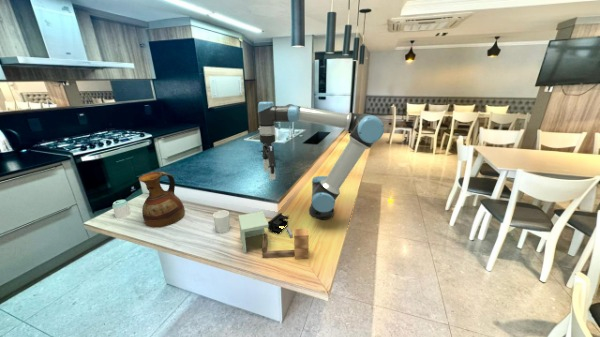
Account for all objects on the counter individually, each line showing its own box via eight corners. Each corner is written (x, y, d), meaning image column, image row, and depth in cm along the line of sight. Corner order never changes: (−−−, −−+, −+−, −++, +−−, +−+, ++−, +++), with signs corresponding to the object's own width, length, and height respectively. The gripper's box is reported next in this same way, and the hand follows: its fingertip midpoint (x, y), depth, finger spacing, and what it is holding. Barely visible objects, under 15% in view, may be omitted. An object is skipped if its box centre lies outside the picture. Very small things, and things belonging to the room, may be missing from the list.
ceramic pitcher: (138, 226, 127) (124, 175, 117) (172, 210, 143) (162, 164, 134) (159, 235, 118) (147, 181, 108) (193, 217, 135) (184, 169, 125)
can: (117, 225, 127) (111, 205, 124) (116, 220, 133) (111, 201, 129) (132, 220, 132) (127, 202, 128) (131, 216, 137) (126, 197, 133)
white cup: (225, 225, 127) (223, 208, 124) (234, 230, 122) (232, 213, 119) (212, 231, 121) (210, 214, 118) (220, 236, 116) (218, 219, 113)
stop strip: (288, 230, 121) (288, 227, 121) (292, 237, 115) (292, 234, 115) (286, 230, 121) (286, 227, 120) (290, 238, 115) (290, 234, 114)
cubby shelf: (264, 232, 120) (262, 211, 116) (269, 247, 108) (268, 224, 104) (240, 237, 116) (238, 215, 112) (243, 253, 104) (241, 229, 100)
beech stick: (287, 217, 134) (287, 214, 134) (288, 218, 133) (288, 215, 133) (267, 226, 126) (267, 223, 125) (269, 227, 124) (268, 224, 124)
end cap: (277, 222, 129) (277, 211, 127) (288, 225, 126) (288, 214, 124) (267, 231, 121) (266, 220, 119) (278, 235, 118) (277, 223, 116)
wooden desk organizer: (306, 241, 112) (306, 219, 109) (308, 258, 101) (308, 235, 97) (264, 242, 111) (263, 221, 108) (262, 260, 100) (260, 237, 96)
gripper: (255, 131, 122) (258, 168, 129) (265, 139, 100) (267, 184, 107) (269, 130, 125) (271, 167, 132) (281, 138, 103) (283, 182, 109)
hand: (269, 175), depth 119 cm, fingers open, 13 cm apart
